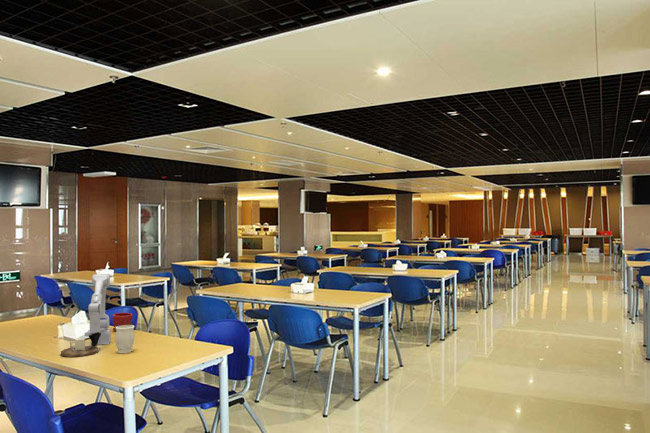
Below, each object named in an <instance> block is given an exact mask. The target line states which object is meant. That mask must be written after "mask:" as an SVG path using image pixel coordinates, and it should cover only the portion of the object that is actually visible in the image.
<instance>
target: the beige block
mask: <svg viewBox="0 0 650 433" xmlns="http://www.w3.org/2000/svg"><path fill="white" fill-rule="evenodd" d="M72 344H74V345H72ZM85 346H86V337H78V338H77V337H75V340H74V341H73V340H72V341H69V348H72V347H75V350H79V349H85Z"/></svg>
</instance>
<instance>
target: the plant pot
mask: <svg viewBox="0 0 650 433" xmlns="http://www.w3.org/2000/svg"><path fill="white" fill-rule="evenodd" d="M132 322H133V313H131V312H130V313H129V312H117V313H114V314H112V325H113V326H114V327H113V328H112V330H113V331H114V332H116V327H117V326H122V325H132Z"/></svg>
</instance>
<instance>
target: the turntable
mask: <svg viewBox="0 0 650 433" xmlns="http://www.w3.org/2000/svg"><path fill="white" fill-rule="evenodd" d="M99 351H100V347H98V346H92V342H91V341H90V345H85V349H79V350H75V347H72V348H70V347H68V348H64V349H62V350H60V356H62V357H65V358H78V357H87V356H90V355H91V356H92V355H94V354H97V353H99Z"/></svg>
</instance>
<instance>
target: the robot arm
mask: <svg viewBox="0 0 650 433" xmlns="http://www.w3.org/2000/svg"><path fill="white" fill-rule="evenodd" d="M91 279H92V280H91V282H92V285H93V286H94V293H93V294H92V295H91V299H90V303H89V304H88V316H89V329H88V331H86V332H84V337H88V338H89V340H90V343H91V342H92V346H96V347H98V346H99V345H110V343H111V339H112V338H111V337H112V336H111V329H110V317H109V316H110V315H108V314H106V295H107V289H108V288H109V287H110V285H111V275H110V273H98V274H97V273H94V274H93V275H92V277H91Z"/></svg>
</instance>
